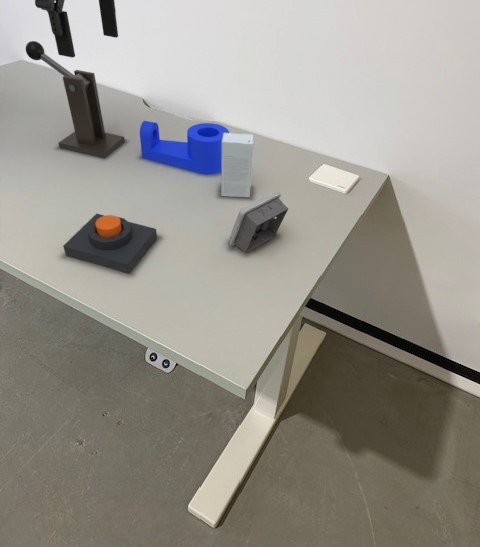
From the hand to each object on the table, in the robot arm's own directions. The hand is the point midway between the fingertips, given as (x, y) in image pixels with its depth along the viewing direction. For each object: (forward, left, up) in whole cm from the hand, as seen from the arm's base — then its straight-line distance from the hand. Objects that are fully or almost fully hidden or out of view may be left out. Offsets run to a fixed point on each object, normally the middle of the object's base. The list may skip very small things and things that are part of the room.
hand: (90, 45), depth 75 cm
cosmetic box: (+28, +2, -25) cm, 38 cm away
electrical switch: (+37, -12, -25) cm, 46 cm away
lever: (-16, +8, -10) cm, 20 cm away
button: (+14, -23, -21) cm, 34 cm away
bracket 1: (-10, +8, -25) cm, 28 cm away
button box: (+14, -23, -25) cm, 37 cm away
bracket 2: (+13, +10, -25) cm, 30 cm away
